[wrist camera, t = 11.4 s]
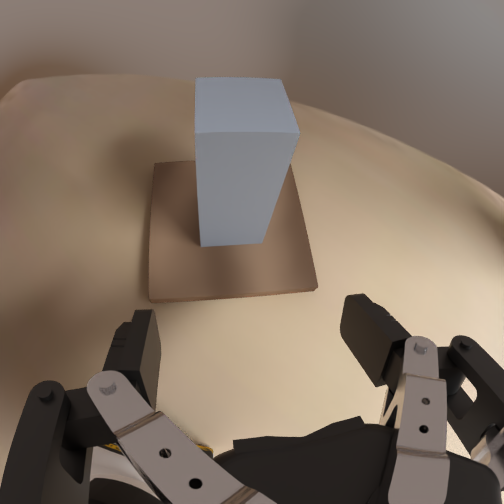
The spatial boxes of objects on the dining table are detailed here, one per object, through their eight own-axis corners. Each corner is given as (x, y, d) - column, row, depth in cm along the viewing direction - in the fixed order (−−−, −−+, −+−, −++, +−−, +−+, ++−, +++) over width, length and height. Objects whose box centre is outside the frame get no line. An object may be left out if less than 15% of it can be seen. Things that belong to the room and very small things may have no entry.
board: (286, 166, 27) (289, 159, 26) (313, 290, 22) (318, 286, 21) (156, 170, 25) (154, 163, 24) (151, 302, 20) (148, 299, 19)
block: (254, 193, 24) (280, 79, 14) (262, 243, 22) (300, 133, 12) (198, 195, 23) (195, 77, 13) (200, 247, 21) (194, 133, 11)
